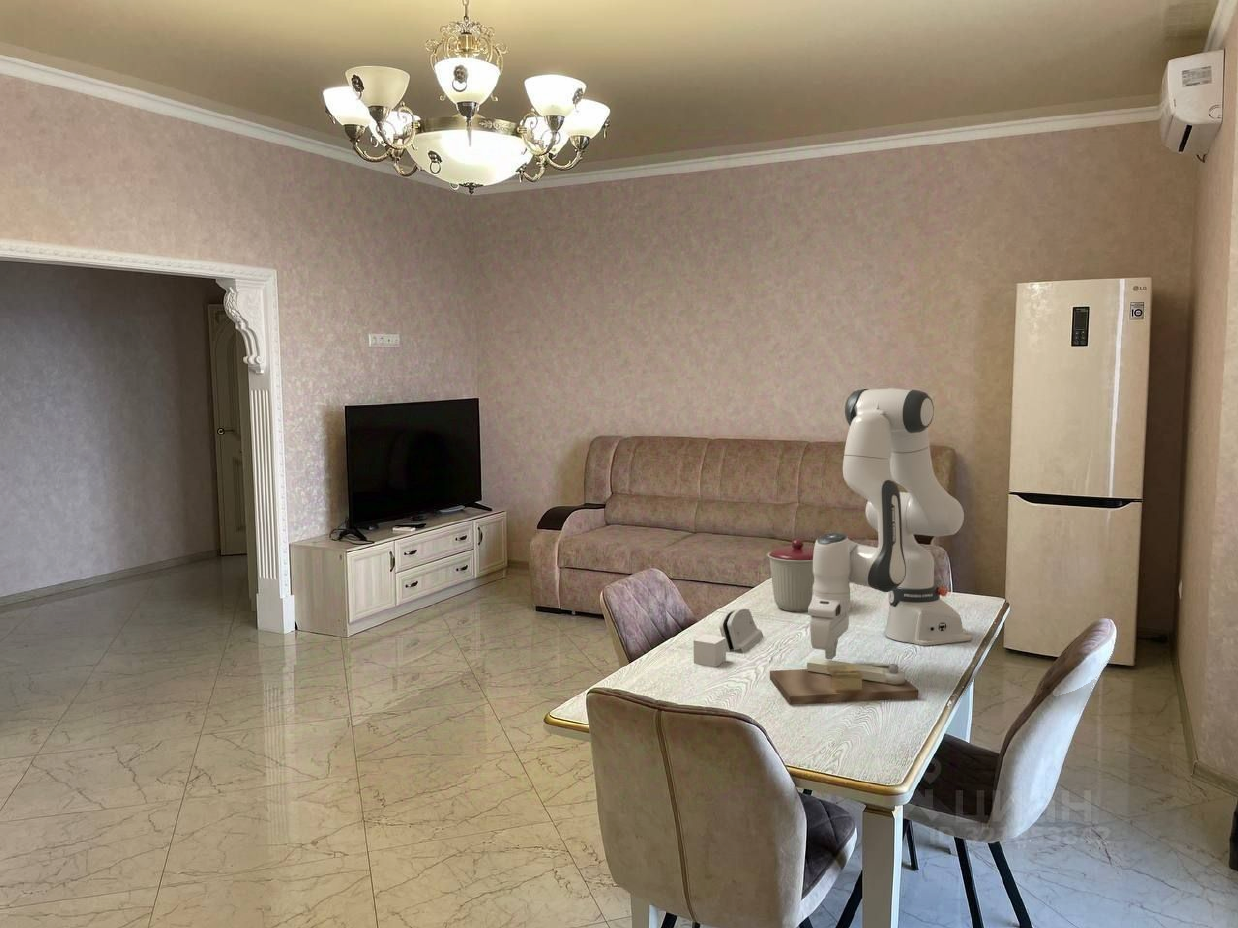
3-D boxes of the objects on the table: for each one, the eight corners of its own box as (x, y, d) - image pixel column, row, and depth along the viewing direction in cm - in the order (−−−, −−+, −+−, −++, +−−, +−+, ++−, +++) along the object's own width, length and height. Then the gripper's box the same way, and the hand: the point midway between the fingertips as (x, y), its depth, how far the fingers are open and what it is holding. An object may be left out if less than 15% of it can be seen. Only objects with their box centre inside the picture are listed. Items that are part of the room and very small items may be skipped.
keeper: (852, 681, 208) (852, 664, 208) (861, 690, 202) (862, 673, 202) (826, 682, 208) (826, 665, 207) (835, 692, 202) (835, 674, 201)
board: (888, 673, 220) (889, 665, 219) (918, 698, 203) (918, 689, 203) (769, 678, 217) (769, 670, 217) (789, 705, 200) (789, 696, 200)
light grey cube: (715, 667, 226) (715, 643, 226) (693, 663, 229) (693, 640, 229) (726, 660, 231) (725, 637, 231) (704, 656, 235) (704, 634, 234)
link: (906, 679, 209) (907, 663, 208) (901, 685, 204) (902, 670, 204) (812, 665, 219) (812, 650, 219) (806, 671, 215) (806, 656, 215)
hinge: (744, 654, 236) (731, 616, 237) (727, 657, 238) (715, 620, 239) (764, 636, 251) (752, 601, 251) (748, 640, 253) (736, 605, 254)
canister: (836, 604, 283) (836, 537, 281) (815, 618, 268) (815, 547, 266) (780, 597, 293) (781, 532, 290) (757, 610, 277) (757, 541, 275)
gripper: (830, 590, 231) (829, 644, 233) (805, 609, 213) (805, 667, 215) (855, 593, 228) (854, 647, 230) (832, 613, 210) (831, 671, 212)
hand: (830, 657), depth 222 cm, fingers closed
